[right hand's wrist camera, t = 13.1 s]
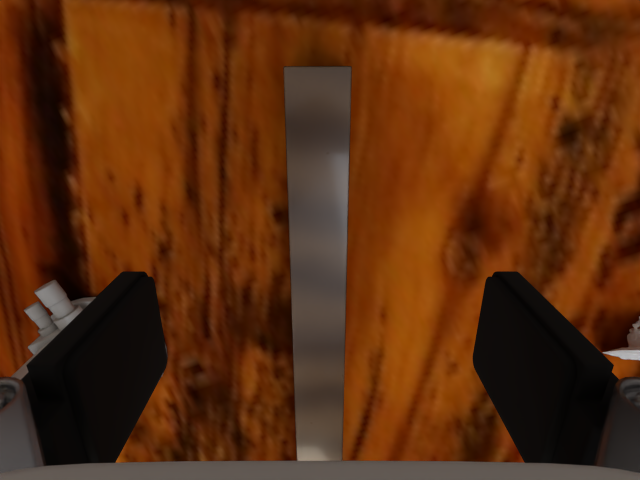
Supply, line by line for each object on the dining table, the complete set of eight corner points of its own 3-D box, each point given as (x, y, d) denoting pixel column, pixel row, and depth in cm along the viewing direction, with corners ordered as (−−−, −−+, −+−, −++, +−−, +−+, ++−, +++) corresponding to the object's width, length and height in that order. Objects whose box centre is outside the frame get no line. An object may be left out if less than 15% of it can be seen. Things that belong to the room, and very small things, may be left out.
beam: (290, 69, 32) (283, 66, 26) (345, 68, 32) (351, 66, 26) (304, 577, 57) (302, 640, 51) (335, 577, 57) (337, 640, 51)
